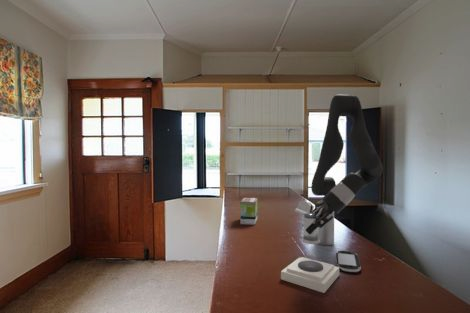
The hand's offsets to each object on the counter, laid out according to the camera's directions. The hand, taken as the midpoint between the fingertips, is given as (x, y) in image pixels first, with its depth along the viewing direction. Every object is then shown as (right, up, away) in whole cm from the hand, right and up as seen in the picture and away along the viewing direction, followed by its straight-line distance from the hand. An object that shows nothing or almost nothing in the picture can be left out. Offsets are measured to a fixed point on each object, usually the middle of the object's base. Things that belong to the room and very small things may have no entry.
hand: (305, 229), depth 101 cm
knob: (+2, -4, 0) cm, 5 cm away
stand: (+2, -18, 0) cm, 18 cm away
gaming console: (+21, -18, +13) cm, 30 cm away
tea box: (-17, -16, +79) cm, 83 cm away
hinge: (+25, -15, +101) cm, 105 cm away
